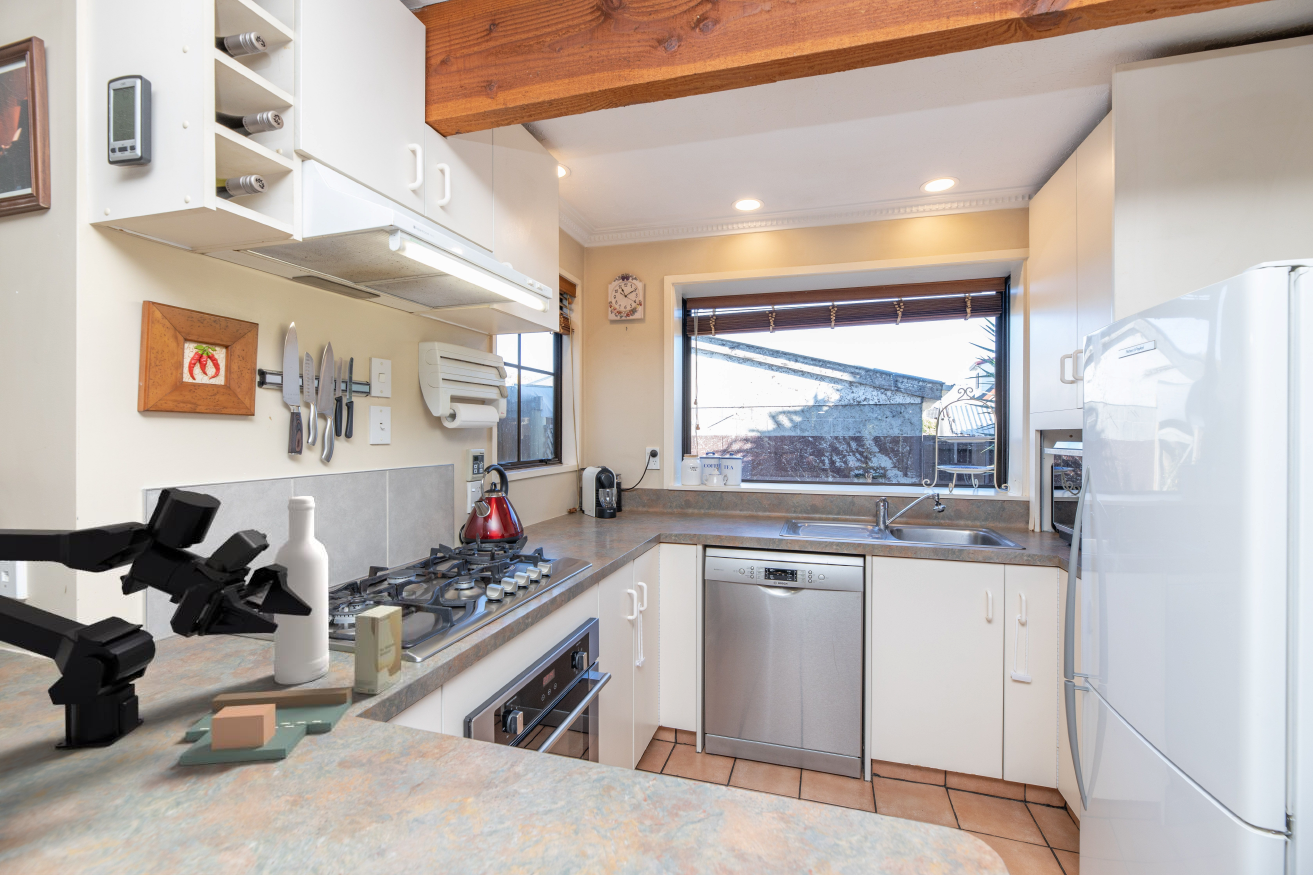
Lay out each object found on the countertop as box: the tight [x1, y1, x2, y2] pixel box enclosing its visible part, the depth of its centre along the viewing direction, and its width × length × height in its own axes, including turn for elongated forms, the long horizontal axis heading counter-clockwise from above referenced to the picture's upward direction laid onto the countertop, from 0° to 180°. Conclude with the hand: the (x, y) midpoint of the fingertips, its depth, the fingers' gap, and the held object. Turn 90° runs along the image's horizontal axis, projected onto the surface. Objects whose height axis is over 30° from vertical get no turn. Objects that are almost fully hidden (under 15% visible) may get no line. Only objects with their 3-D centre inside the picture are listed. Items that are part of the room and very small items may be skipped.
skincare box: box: [353, 604, 403, 695], centre depth 94 cm, size 6×4×12 cm
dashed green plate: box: [185, 686, 353, 742], centre depth 83 cm, size 18×8×3 cm, turn 99°
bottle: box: [273, 495, 330, 686], centre depth 98 cm, size 8×8×30 cm
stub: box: [179, 704, 307, 767], centre depth 76 cm, size 12×6×5 cm, turn 99°
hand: (294, 620), depth 80 cm, fingers open, 9 cm apart
